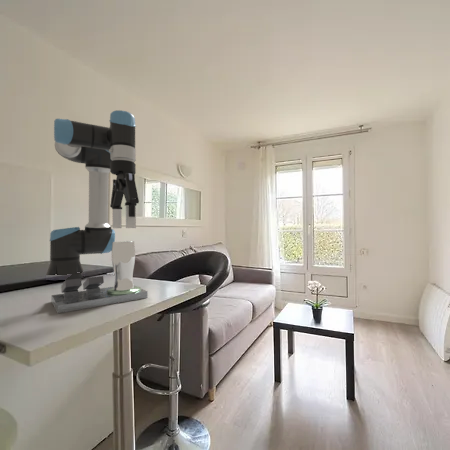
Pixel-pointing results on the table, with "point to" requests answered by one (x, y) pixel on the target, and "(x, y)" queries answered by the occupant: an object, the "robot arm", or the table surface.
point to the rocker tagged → (71, 285)
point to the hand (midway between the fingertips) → (123, 228)
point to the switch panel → (94, 298)
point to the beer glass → (123, 265)
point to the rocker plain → (93, 282)
